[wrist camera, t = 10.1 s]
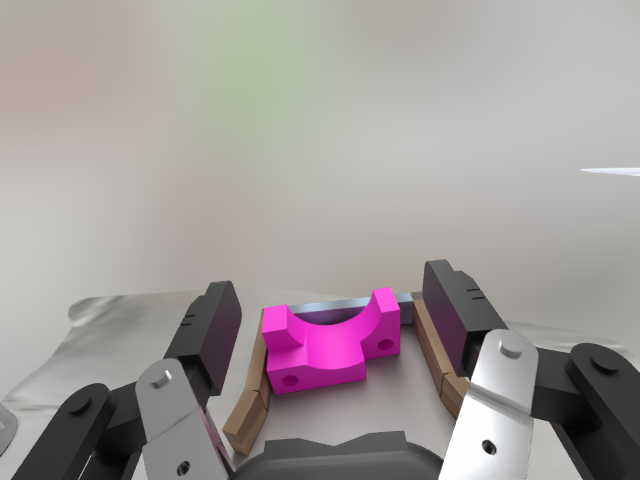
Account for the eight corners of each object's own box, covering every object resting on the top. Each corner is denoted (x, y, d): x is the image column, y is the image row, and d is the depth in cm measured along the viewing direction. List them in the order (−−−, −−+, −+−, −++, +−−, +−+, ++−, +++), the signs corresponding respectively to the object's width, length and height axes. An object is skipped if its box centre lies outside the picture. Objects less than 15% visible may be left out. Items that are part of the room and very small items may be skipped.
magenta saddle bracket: (275, 396, 33) (259, 352, 29) (277, 350, 38) (264, 308, 34) (407, 373, 33) (408, 327, 29) (390, 330, 38) (389, 287, 35)
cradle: (233, 457, 28) (220, 436, 26) (260, 330, 41) (253, 309, 39) (487, 437, 26) (494, 413, 24) (429, 312, 40) (431, 290, 38)
